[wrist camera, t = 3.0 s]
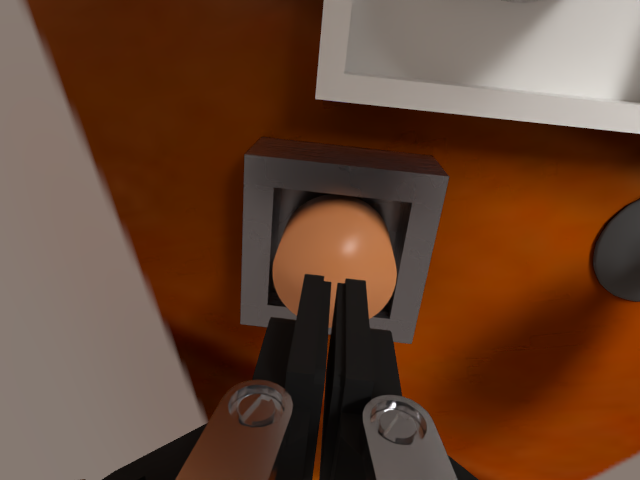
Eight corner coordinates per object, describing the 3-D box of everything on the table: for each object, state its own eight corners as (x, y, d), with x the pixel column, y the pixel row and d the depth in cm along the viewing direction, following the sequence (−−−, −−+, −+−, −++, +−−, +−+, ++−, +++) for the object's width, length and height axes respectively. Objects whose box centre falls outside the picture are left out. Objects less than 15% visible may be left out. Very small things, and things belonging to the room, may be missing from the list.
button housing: (261, 137, 17) (244, 154, 14) (432, 155, 16) (449, 176, 14) (255, 285, 19) (240, 324, 17) (402, 301, 19) (411, 343, 16)
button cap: (286, 188, 15) (275, 211, 13) (398, 200, 15) (406, 226, 13) (279, 285, 17) (269, 320, 15) (381, 297, 17) (386, 334, 15)
